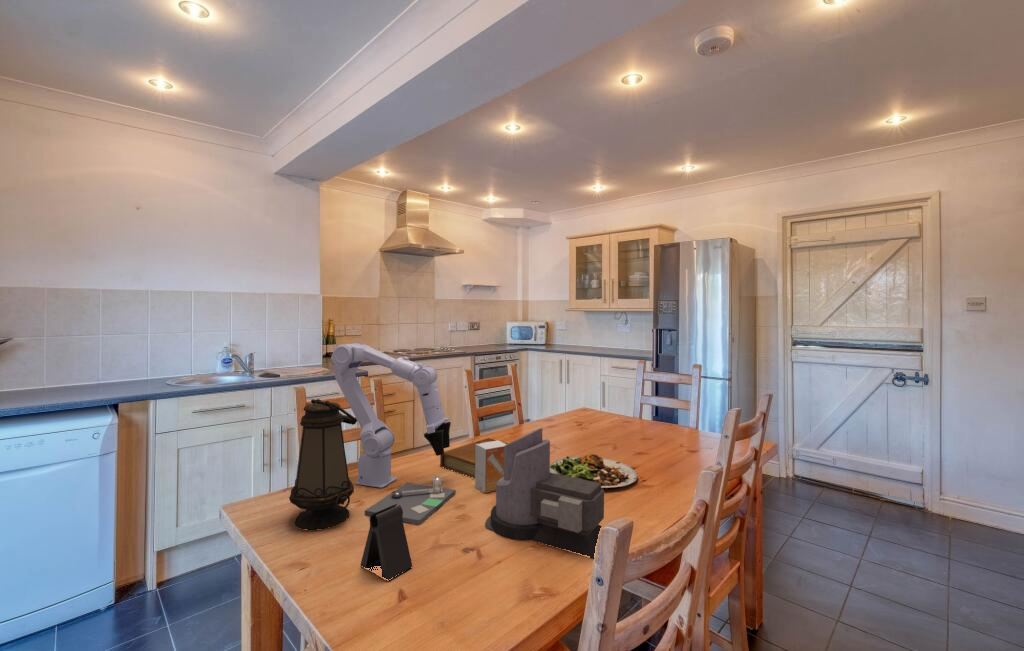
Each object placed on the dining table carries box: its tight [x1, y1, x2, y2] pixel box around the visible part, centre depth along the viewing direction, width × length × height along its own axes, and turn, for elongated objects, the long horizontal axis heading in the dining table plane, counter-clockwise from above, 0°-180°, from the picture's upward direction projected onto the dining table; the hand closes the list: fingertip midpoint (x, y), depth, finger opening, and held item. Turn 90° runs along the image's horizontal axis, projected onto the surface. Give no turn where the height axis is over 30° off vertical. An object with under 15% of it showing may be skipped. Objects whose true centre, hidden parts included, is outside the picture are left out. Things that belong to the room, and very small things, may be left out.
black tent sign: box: [360, 504, 413, 580], centre depth 90 cm, size 9×6×12 cm, turn 53°
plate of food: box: [550, 453, 639, 489], centre depth 142 cm, size 28×28×6 cm
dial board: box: [364, 482, 456, 526], centre depth 120 cm, size 16×20×1 cm
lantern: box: [289, 398, 358, 531], centre depth 111 cm, size 18×15×30 cm
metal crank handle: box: [391, 475, 444, 498], centre depth 123 cm, size 14×3×4 cm, turn 106°
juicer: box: [484, 427, 605, 560], centre depth 106 cm, size 30×16×24 cm, turn 59°
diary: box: [439, 437, 510, 479], centre depth 152 cm, size 23×19×6 cm
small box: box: [474, 439, 507, 494], centre depth 132 cm, size 8×6×13 cm
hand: (443, 451), depth 131 cm, fingers open, 7 cm apart
